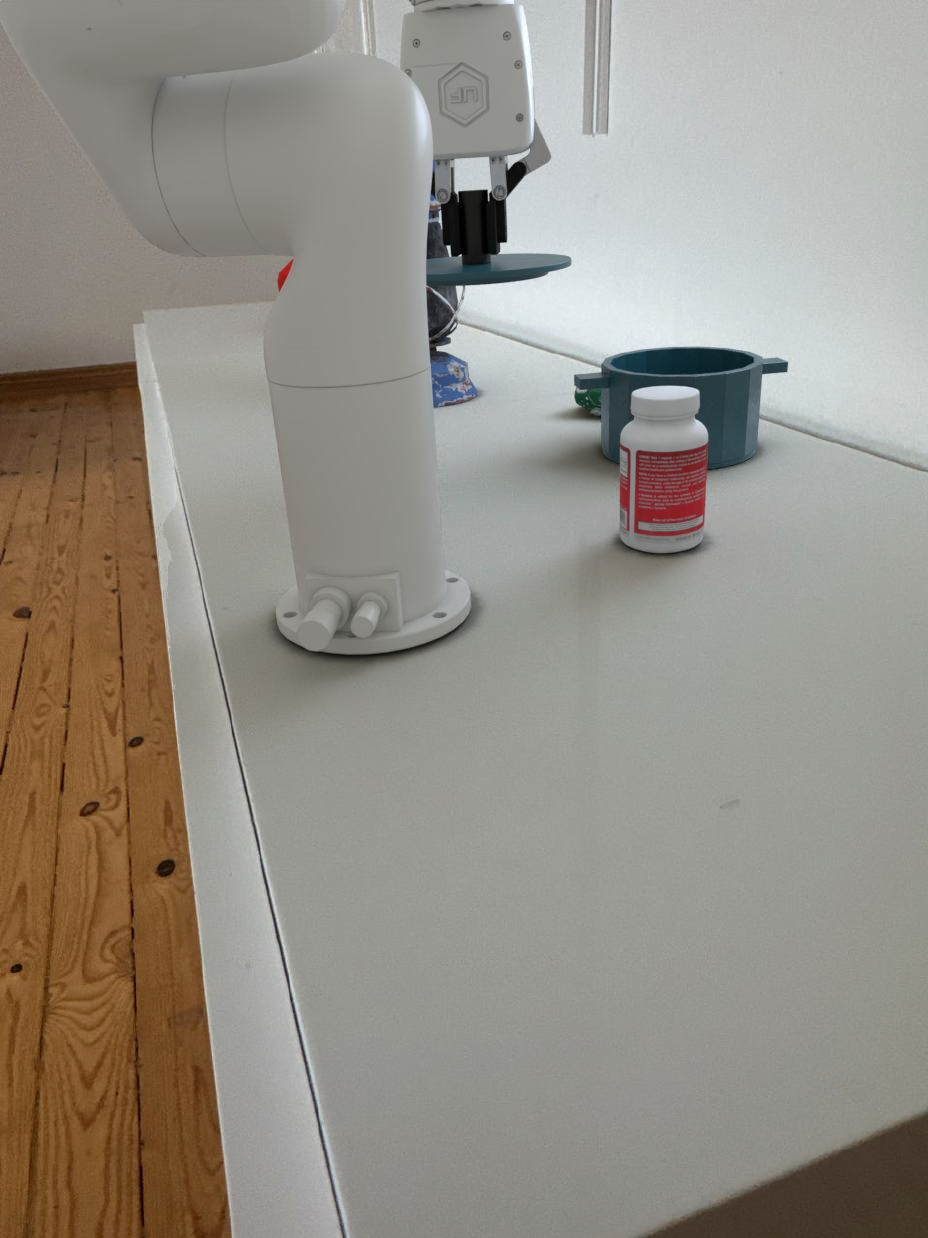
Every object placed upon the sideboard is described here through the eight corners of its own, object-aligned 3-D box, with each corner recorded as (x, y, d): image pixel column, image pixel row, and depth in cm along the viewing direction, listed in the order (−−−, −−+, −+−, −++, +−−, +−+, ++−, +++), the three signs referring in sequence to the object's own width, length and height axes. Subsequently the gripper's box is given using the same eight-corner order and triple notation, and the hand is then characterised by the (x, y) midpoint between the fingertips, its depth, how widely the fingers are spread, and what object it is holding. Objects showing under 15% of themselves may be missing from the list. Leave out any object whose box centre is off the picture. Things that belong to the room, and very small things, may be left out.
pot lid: (592, 279, 74) (592, 184, 71) (389, 294, 72) (380, 198, 70) (549, 262, 88) (548, 182, 85) (378, 274, 86) (371, 194, 84)
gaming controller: (577, 425, 111) (563, 397, 106) (586, 397, 112) (572, 367, 107) (655, 431, 107) (643, 401, 102) (663, 401, 108) (652, 370, 103)
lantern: (477, 407, 115) (462, 124, 102) (375, 413, 115) (347, 132, 103) (477, 381, 129) (464, 130, 116) (385, 386, 129) (362, 136, 117)
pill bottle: (721, 541, 71) (730, 390, 66) (660, 562, 68) (664, 405, 63) (661, 520, 76) (666, 378, 71) (602, 539, 73) (602, 392, 68)
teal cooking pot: (810, 459, 88) (819, 365, 85) (597, 480, 86) (597, 384, 83) (747, 422, 101) (752, 339, 98) (560, 439, 99) (559, 355, 96)
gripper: (345, -9, 69) (370, 263, 77) (570, -29, 67) (573, 253, 75) (368, 6, 76) (389, 254, 84) (573, -12, 74) (575, 245, 82)
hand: (475, 252), depth 79 cm, fingers closed on pot lid, 2 cm apart
